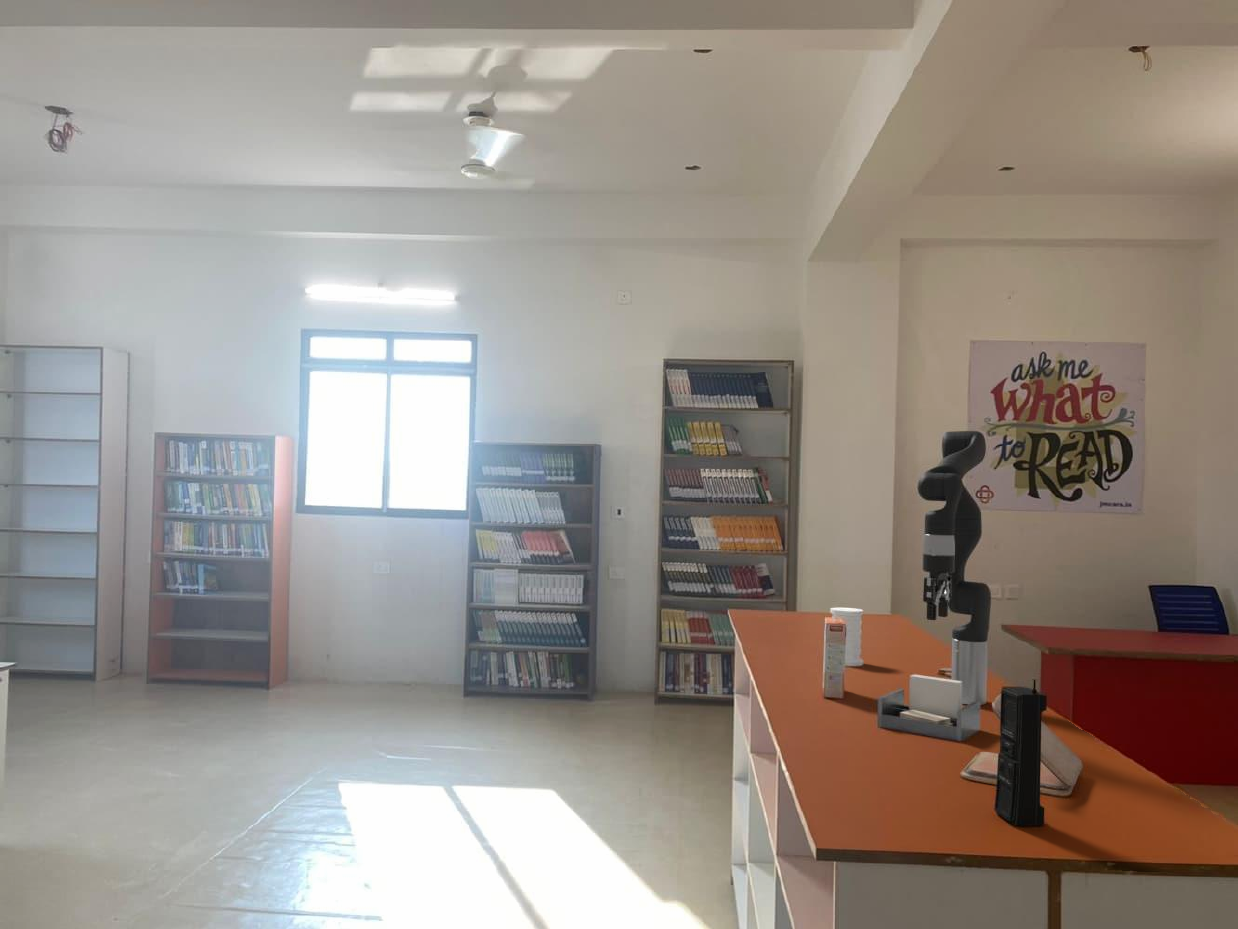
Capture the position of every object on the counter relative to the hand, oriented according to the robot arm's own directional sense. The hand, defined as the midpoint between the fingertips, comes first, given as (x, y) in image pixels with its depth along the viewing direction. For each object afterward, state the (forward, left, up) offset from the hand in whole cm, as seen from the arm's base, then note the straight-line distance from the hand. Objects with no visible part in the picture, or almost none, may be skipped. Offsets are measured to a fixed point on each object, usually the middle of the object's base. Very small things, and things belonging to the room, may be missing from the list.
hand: (937, 618), depth 234 cm
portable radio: (+59, +34, -26) cm, 73 cm away
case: (+31, +28, -27) cm, 50 cm away
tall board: (0, 0, -26) cm, 26 cm away
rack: (+5, 0, -26) cm, 27 cm away
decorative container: (-66, -52, -26) cm, 88 cm away
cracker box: (-16, -34, -26) cm, 46 cm away
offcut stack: (+7, 0, -27) cm, 28 cm away
